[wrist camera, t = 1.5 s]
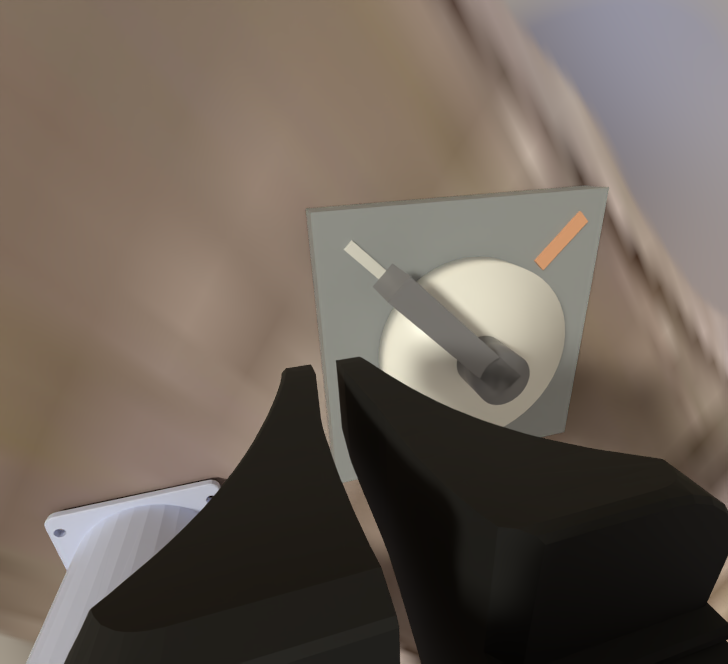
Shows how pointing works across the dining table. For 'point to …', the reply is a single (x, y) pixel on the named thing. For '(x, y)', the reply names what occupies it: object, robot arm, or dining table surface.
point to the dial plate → (442, 245)
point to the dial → (473, 335)
